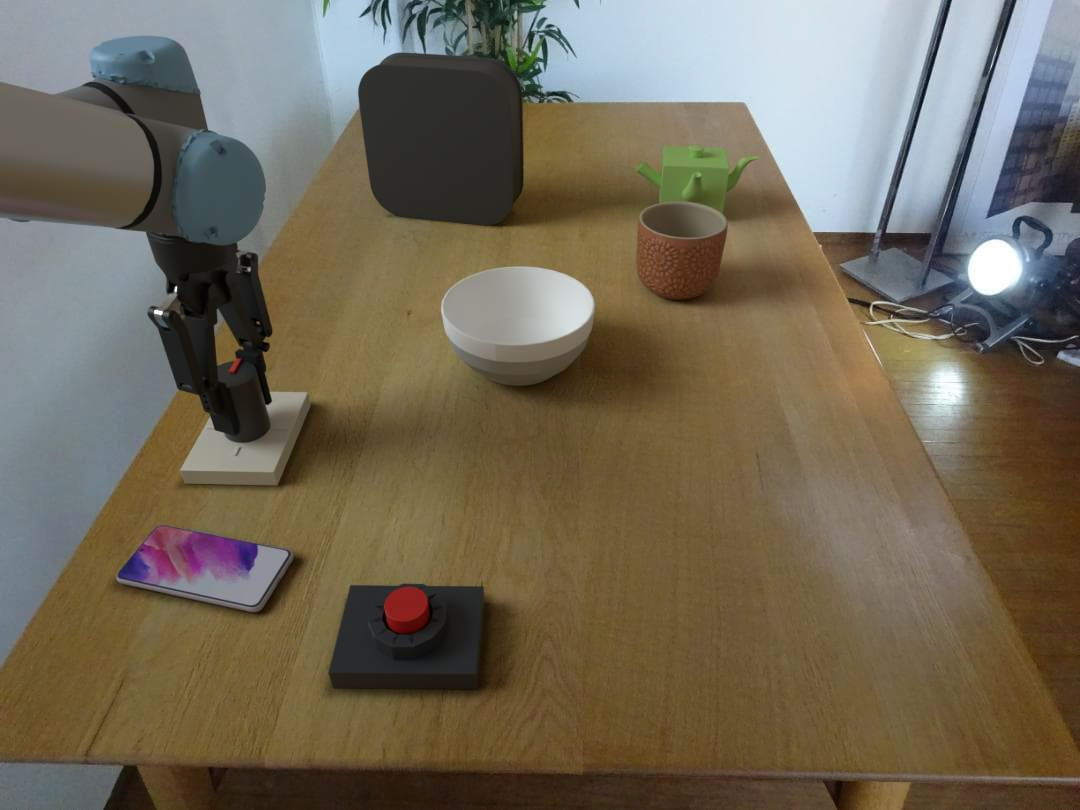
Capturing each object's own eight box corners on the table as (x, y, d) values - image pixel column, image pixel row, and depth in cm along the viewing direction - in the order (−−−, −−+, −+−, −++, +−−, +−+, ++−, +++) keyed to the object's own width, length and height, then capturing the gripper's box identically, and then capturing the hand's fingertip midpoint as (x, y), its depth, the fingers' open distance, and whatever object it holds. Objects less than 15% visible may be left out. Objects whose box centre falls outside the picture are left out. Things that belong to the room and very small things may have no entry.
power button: (383, 634, 67) (380, 621, 65) (390, 599, 69) (387, 586, 68) (426, 634, 66) (425, 621, 65) (432, 599, 69) (430, 586, 68)
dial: (263, 443, 88) (247, 385, 83) (217, 442, 88) (199, 385, 83) (276, 414, 92) (261, 358, 87) (232, 414, 92) (216, 357, 87)
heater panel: (277, 485, 86) (273, 470, 84) (184, 484, 86) (179, 469, 85) (311, 405, 97) (307, 390, 95) (228, 403, 97) (224, 389, 96)
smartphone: (257, 610, 72) (111, 578, 75) (260, 616, 72) (114, 584, 75) (295, 549, 77) (158, 521, 80) (297, 555, 78) (160, 527, 81)
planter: (708, 316, 113) (719, 245, 106) (623, 300, 116) (628, 230, 109) (724, 275, 122) (735, 207, 115) (644, 262, 125) (650, 195, 119)
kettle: (750, 213, 140) (760, 149, 133) (695, 237, 132) (704, 171, 125) (684, 186, 149) (691, 125, 142) (630, 207, 141) (634, 144, 134)
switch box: (332, 688, 67) (324, 659, 64) (353, 600, 74) (347, 571, 71) (477, 689, 67) (474, 660, 64) (484, 601, 74) (482, 572, 71)
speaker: (374, 214, 139) (353, 62, 124) (392, 194, 146) (374, 47, 131) (513, 228, 135) (510, 72, 119) (526, 207, 141) (524, 57, 126)
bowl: (605, 333, 109) (609, 276, 104) (574, 417, 95) (575, 355, 90) (473, 314, 113) (470, 258, 108) (424, 392, 99) (417, 332, 93)
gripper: (149, 270, 67) (218, 476, 81) (279, 188, 80) (319, 377, 95) (80, 255, 69) (159, 458, 83) (217, 178, 82) (265, 364, 97)
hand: (244, 415), depth 89 cm, fingers closed on dial, 5 cm apart
